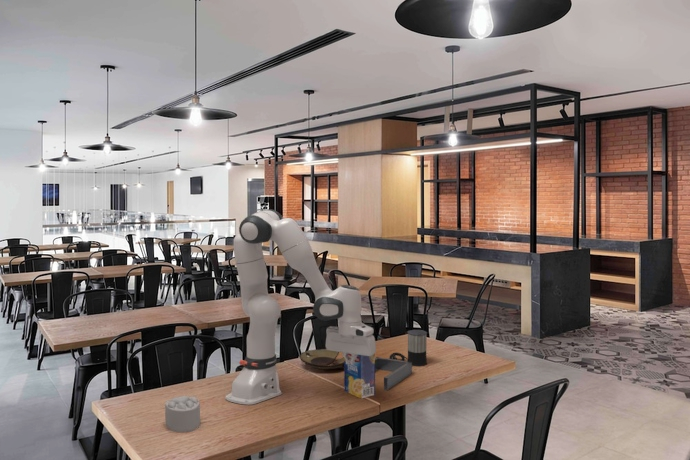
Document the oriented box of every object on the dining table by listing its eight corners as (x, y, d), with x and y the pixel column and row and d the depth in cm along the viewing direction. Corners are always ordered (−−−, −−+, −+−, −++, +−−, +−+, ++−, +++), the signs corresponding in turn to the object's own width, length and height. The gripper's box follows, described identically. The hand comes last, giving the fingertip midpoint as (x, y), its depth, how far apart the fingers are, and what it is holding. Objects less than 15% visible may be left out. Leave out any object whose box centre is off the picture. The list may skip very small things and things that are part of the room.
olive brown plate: (331, 356, 264) (331, 341, 264) (367, 372, 239) (367, 355, 239) (290, 364, 252) (290, 347, 252) (323, 381, 227) (323, 363, 227)
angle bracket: (387, 390, 215) (387, 378, 215) (349, 383, 223) (349, 371, 223) (411, 373, 237) (411, 362, 236) (376, 367, 245) (376, 356, 245)
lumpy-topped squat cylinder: (192, 415, 191) (192, 391, 190) (205, 427, 180) (205, 402, 180) (162, 422, 185) (162, 397, 185) (173, 435, 174) (173, 408, 174)
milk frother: (430, 365, 249) (430, 333, 248) (400, 369, 243) (400, 336, 243) (415, 357, 262) (415, 326, 262) (386, 360, 257) (386, 329, 256)
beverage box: (358, 387, 219) (357, 333, 218) (375, 394, 210) (374, 338, 209) (344, 390, 215) (343, 335, 214) (361, 398, 206) (360, 341, 205)
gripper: (322, 326, 207) (322, 362, 208) (369, 332, 197) (369, 370, 198) (330, 323, 213) (331, 358, 213) (377, 329, 203) (377, 366, 203)
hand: (350, 364), depth 206 cm, fingers closed
